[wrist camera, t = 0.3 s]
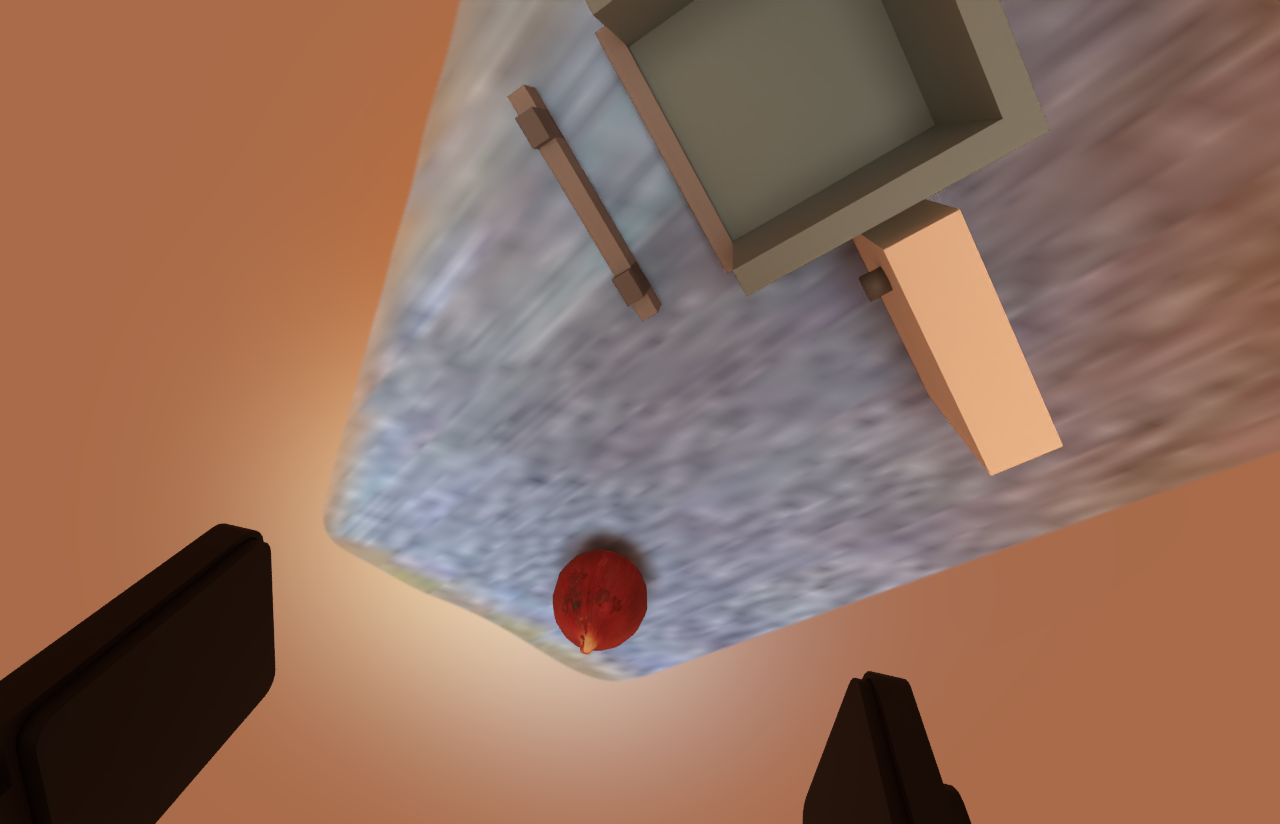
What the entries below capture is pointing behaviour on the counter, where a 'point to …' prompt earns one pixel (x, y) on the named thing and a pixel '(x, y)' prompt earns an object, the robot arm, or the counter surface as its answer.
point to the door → (957, 333)
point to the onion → (599, 600)
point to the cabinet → (799, 118)
